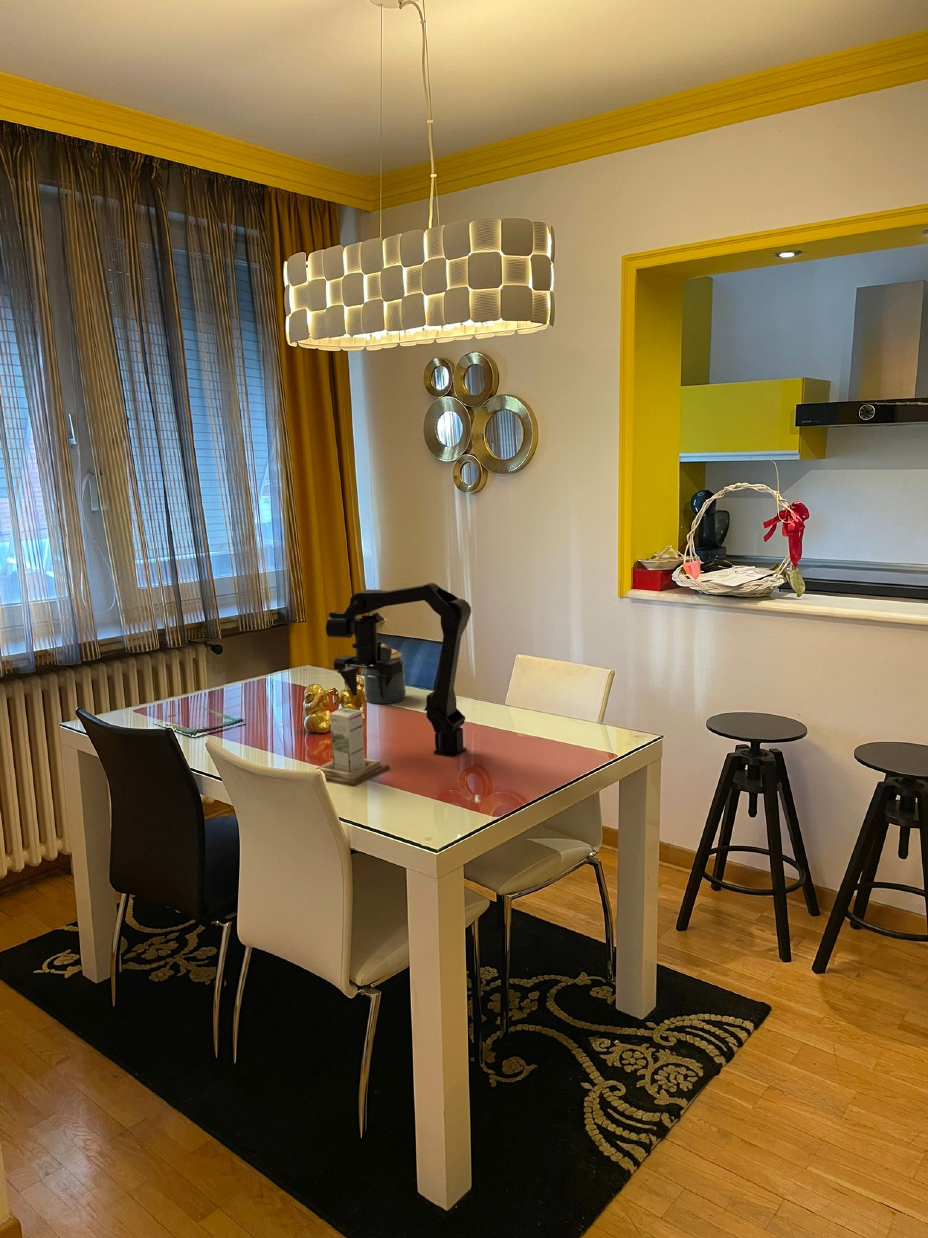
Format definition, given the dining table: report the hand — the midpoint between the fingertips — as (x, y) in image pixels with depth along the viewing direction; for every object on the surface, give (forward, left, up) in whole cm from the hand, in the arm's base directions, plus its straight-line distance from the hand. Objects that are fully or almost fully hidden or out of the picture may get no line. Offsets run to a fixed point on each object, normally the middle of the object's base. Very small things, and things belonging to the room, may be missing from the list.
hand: (369, 697), depth 240 cm
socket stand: (-8, +20, -13) cm, 25 cm away
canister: (+24, -40, -13) cm, 49 cm away
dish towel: (+58, +6, -14) cm, 60 cm away
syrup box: (-8, +20, -12) cm, 25 cm away
